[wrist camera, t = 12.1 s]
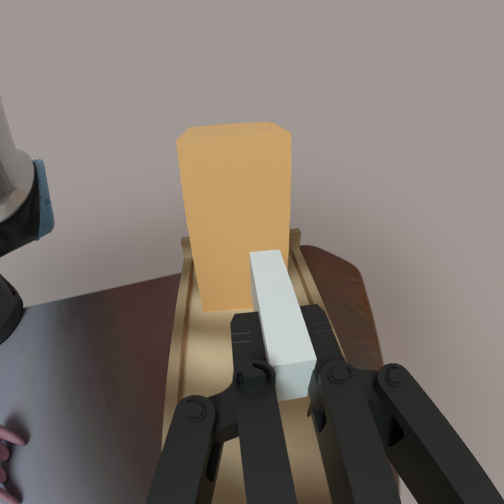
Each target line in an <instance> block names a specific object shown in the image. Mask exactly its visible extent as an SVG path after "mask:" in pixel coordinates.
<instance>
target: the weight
mask: <svg viewBox="0 0 504 504" xmlns="http://www.w3.org/2000/svg"><path fill="white" fill-rule="evenodd" d="M176 143H177V152H178V161H179V169H180V177H181V185H182V192H183V199H184V205H185V213H186V219H187V225H188V232H189V238H190V244H191V250H192V256H193V261H194V267H195V272H196V277H197V283H198V288H199V293H200V298H201V303H202V308H203V312H212V311H226V310H238V309H250V308H253V301H252V295H251V276H250V255H249V252H256V251H267V250H279V249H280V252H281V255H282V258H283V260H284V263H285V266H286V269H287V272H288V253H289V229H290V197H291V133H290V132H289V131H287V130H285V129H284V128H282V127H280V126H278V125H277V124H275V123H273V122H257V123H256V122H254V123H236V124H235V123H234V124H220V125H209V126H198V127H190V128H189V129H187V130H186V131H185V133H183V134H182V135H181V136H180V137H179V138H178V139H177V140H176Z"/></svg>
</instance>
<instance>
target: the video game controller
mask: <svg viewBox="0 0 504 504" xmlns="http://www.w3.org/2000/svg"><path fill="white" fill-rule="evenodd" d="M1 440H6V441H9V442H12V443H14V444H18V445H25V441H24V440H23V439H22V438H21V437H20V436H18V435H17V434H16V433H14V432H12V431H10V430H9V429H7V428H5V427H4V426H2V425H0V460H3V461H5V460H7V459H8V458H9V451H8V449H7V448H6V447H5V445H4V444H3V443H2V442H1ZM5 481H6V473H5V471H4V469H3V468H2V467H0V482H5ZM0 499H1V500H4V501H6V502H8V503H11V504H19V501H18V500H17V499H16V498H15V497H14V496H13V495H11V494H10V493H8V492H7V491H5V490H4V489H2V488H1V487H0Z"/></svg>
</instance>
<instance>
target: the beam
mask: <svg viewBox="0 0 504 504" xmlns="http://www.w3.org/2000/svg"><path fill="white" fill-rule="evenodd" d="M300 235H301V232H300V230H299V229H289V253H288V275H289V278H290V280H291V283H292V286H293V289H294V292H295V295H296V298H297V301H298V304H299V306H304V305H311V304H318V305H319V306H320V307H321V308H322V309H323V310H324V311H325V313H326V315H327V318H328V320H329V323H330V325H331V327H332V330H333V332H334V335H335V337H336V340H337V342H338V344H339V347H340V349H341V352H342V355H343V357H344V359H345V360H346V358H345V355H344V353H343V350H342V348H341V345H340V342H339V340H338V337H337V335H336V333H335V330H334V328H333V325H332V323H331V320H330V318H329V315H328V313H327V311H326V308H325V306H324V304H323V301H322V299H321V296H320V294H319V292H318V289H317V287H316V285H315V283H314V280H313V278H312V276H311V273H310V271H309V269H308V267H307V264H306V262H305V260H304V258H303V255H302V253H301V251H300ZM181 243H182V248H183V254H184V263H183V269H182V274H181V280H180V286H179V292H178V298H177V304H176V311H175V318H174V325H173V332H172V339H171V347H170V355H169V364H168V373H167V383H166V393H165V405H164V418H163V433H162V449H163V446H164V443H165V439H166V436H167V433H168V430H169V427H170V424H171V420H172V417H173V414H174V411H175V408H176V406H177V404H178V403H179V401H181V400H182V399H183V398H184V397H187V396H190V395H201V396H204V397H210V396H213V395H215V394H218V393H220V392H222V391H224V390H225V389H227V388H228V387H229V386H230V384H231V383H232V381H233V379H232V377H233V372H234V369H233V356H232V342H231V329H230V322H231V320H232V318H233V316H234V314H237V313H247V312H254V308H250V309H238V310H226V311H212V312H203V308H202V303H201V298H200V293H199V288H198V283H197V277H196V272H195V267H194V261H193V256H192V250H191V244H190V238H189V237H183V238H182V240H181ZM346 362H347V360H346ZM310 402H311V400H310V396H309V392H308V394H307V397H302V398H296V399H290V400H284V401H278V405H279V410H280V415H281V421H282V426H283V431H284V436H285V441H286V446H287V452H288V457H289V462H290V467H291V472H292V477H293V482H294V488H295V493H296V498H297V503H298V504H332V500H331V496H330V491H329V487H328V483H327V478H326V474H325V470H324V466H323V462H322V457H321V453H320V449H319V445H318V441H317V437H316V433H315V429H314V425H313V421H312V417H311V415H310V416H309V417H307V411H308V408H309V405H310ZM211 504H247V501H246V493H245V485H244V477H243V468H242V460H241V451H240V441H239V437H237V438H234V439H231V440H229V441H226V442H224V447H223V451H222V456H221V461H220V466H219V470H218V475H217V480H216V484H215V489H214V494H213V498H212V503H211Z"/></svg>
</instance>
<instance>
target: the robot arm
mask: <svg viewBox="0 0 504 504" xmlns="http://www.w3.org/2000/svg"><path fill="white" fill-rule="evenodd" d="M54 225H55V221H54V215H53V211H52V206H51V202H50V196H49V190H48V184H47V178H46V172H45V166H44V162H43V160H41V159H38V160H31V158H30V157H29V155H28V154H27V153H25V152H24V151H22V150H20V149H16V147H15V145H14V142H13V139H12V136H11V132H10V129H9V126H8V123H7V119H6V116H5V112H4V109H3V105H2V101H1V96H0V257H2V256H4V255H6V254H8V253H10V252H12V251H14V250H16V249H18V248H20V247H22V246H24V245H26V244H28V243H30V242H32V241H34V240H36V241H37V240H39V239H40V238H41V237H43V236H44V235H46V234H48V233H50V232H51V231H52V230H53V228H54ZM249 255H250V276H251V295H252V301H253V308H254V312H247V313H237V314H234V316H233V318H232V320H231V322H230V329H231V342H232V356H233V369H234V372H233V377H232V379H233V381H232V383H231V384H230V386H229V387H228V388H227V389H225V390H224V391H222V392H220V393H218V394H215V395H213V396H210V397H204V396H201V395H190V396H187V397H184V398H183V399H182V400H181V401H179V403H178V404H177V406H176V408H175V411H174V414H173V417H172V420H171V424H170V427H169V430H168V433H167V436H166V439H165V443H164V446H163V449H162V452H161V456H160V459H159V462H158V465H157V469H156V472H155V475H154V479H153V482H152V486H151V489H150V492H149V496H148V499H147V503H146V504H211V503H212V498H213V494H214V489H215V484H216V480H217V475H218V470H219V466H220V461H221V456H222V451H223V447H224V442H226V441H229V440H231V439H234V438H237V437H239V441H240V451H241V460H242V468H243V477H244V485H245V493H246V501H247V504H298V503H297V498H296V493H295V488H294V482H293V477H292V472H291V467H290V462H289V457H288V452H287V446H286V441H285V436H284V431H283V426H282V421H281V415H280V410H279V405H278V401H284V400H290V399H296V398H302V397H307V394H308V392H309V396H310V400H311V402H310V405H309V408H308V411H307V417H309V416H310V415H311V417H312V421H313V425H314V429H315V433H316V437H317V441H318V445H319V449H320V453H321V457H322V462H323V466H324V470H325V474H326V478H327V483H328V487H329V491H330V496H331V500H332V504H401V500H400V497H399V494H398V490H397V487H396V484H395V480H394V477H393V474H392V471H391V468H390V465H389V462H388V459H389V461H390V462H391V464H392V465H393V467H394V468H395V470H396V471H397V473H398V474H399V476H400V477H401V479H402V480H403V481H404V483H405V485H406V486H407V488H408V489H409V491H410V492H411V494H412V495H413V496H414V498H415V499H416V501H417V502H418V504H504V500H503V498H502V497H501V495H500V494H499V492H498V491H497V489H496V488H495V486H494V485H493V483H492V482H491V480H490V479H489V477H488V476H487V474H486V473H485V471H484V470H483V469H482V467H481V466H480V464H479V463H478V461H477V460H476V459H475V457H474V456H473V454H472V453H471V452H470V450H469V449H468V448H467V446H466V445H465V443H464V442H463V441H462V439H461V438H460V437H459V435H458V434H457V433H456V431H455V430H454V429H453V427H452V426H451V425H450V424H449V422H448V421H447V419H446V418H445V417H444V416H443V414H442V413H441V412H440V411H439V409H438V408H437V407H436V405H435V404H434V403H433V402H432V400H431V399H430V398H429V397H428V395H427V394H426V393H425V392H424V391H423V389H422V388H421V387H420V385H419V384H418V383H417V382H416V380H415V379H414V378H413V377H412V376H411V374H410V373H409V372H408V371H407V370H406V369H405V368H404V367H403V366H401V365H399V364H395V363H394V364H392V363H390V364H387V365H384V366H383V367H382V368H381V369H380V370H379V371H371V370H360V369H357V368H354V367H352V366H351V365H350V364H349V363H347V362H346V360H345V359H344V357H343V355H342V352H341V349H340V347H339V344H338V342H337V340H336V337H335V335H334V332H333V330H332V327H331V325H330V323H329V320H328V318H327V315H326V313H325V311H324V310H323V309H322V308H321V307H320V306H319V305H318V304H311V305H304V306H299V304H298V301H297V298H296V295H295V292H294V289H293V286H292V283H291V280H290V278H289V275H288V272H287V269H286V266H285V263H284V260H283V258H282V255H281V252H280V249H279V250H267V251H256V252H249ZM22 311H23V301H22V299H21V297H20V296H19V294H18V292H17V291H16V289H15V288H14V287H13V286H12V285H11V284H10V283H9V282H8V281H7V280H6V279H5V278H4V277H3V276H2V275H1V274H0V343H2V342H3V341H4V340H5V339H6V338H7V337H8V336H9V335H10V334H11V332H12V331H13V330H14V328H15V327H16V325H17V324H18V322H19V320H20V317H21V315H22ZM387 458H388V459H387Z"/></svg>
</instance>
